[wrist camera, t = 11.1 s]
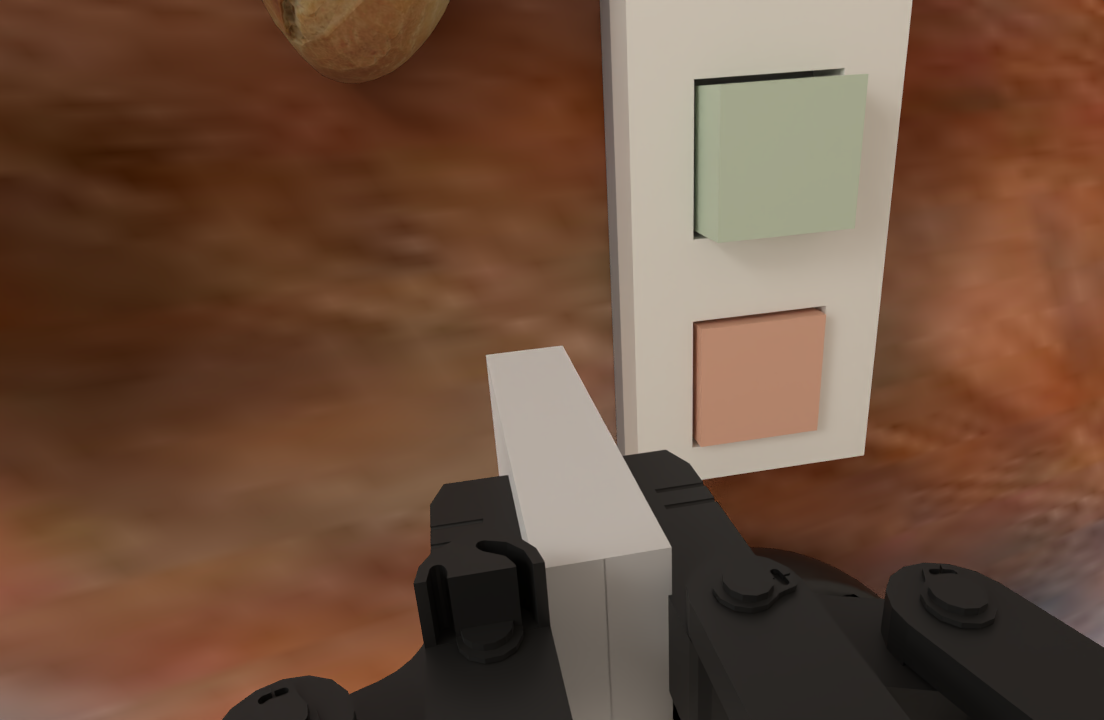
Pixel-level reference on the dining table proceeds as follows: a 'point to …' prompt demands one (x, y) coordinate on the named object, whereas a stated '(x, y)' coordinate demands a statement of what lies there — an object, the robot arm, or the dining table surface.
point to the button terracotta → (757, 375)
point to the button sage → (778, 156)
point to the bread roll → (356, 33)
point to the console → (748, 265)
